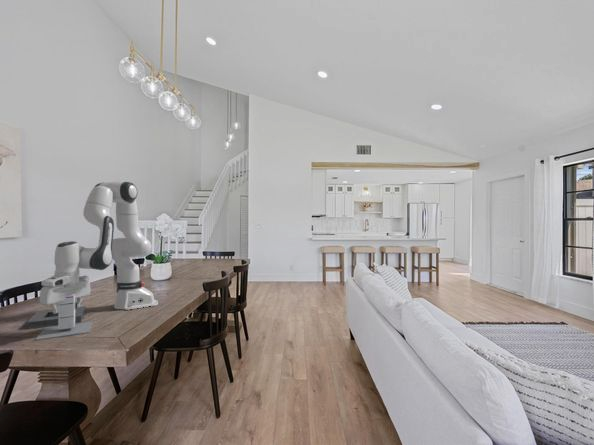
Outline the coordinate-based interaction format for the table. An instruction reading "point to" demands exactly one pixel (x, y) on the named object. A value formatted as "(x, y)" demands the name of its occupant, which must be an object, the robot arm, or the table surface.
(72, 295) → the syrup box
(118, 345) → the table surface
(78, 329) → the grey mat
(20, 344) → the table surface
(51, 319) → the holder block
